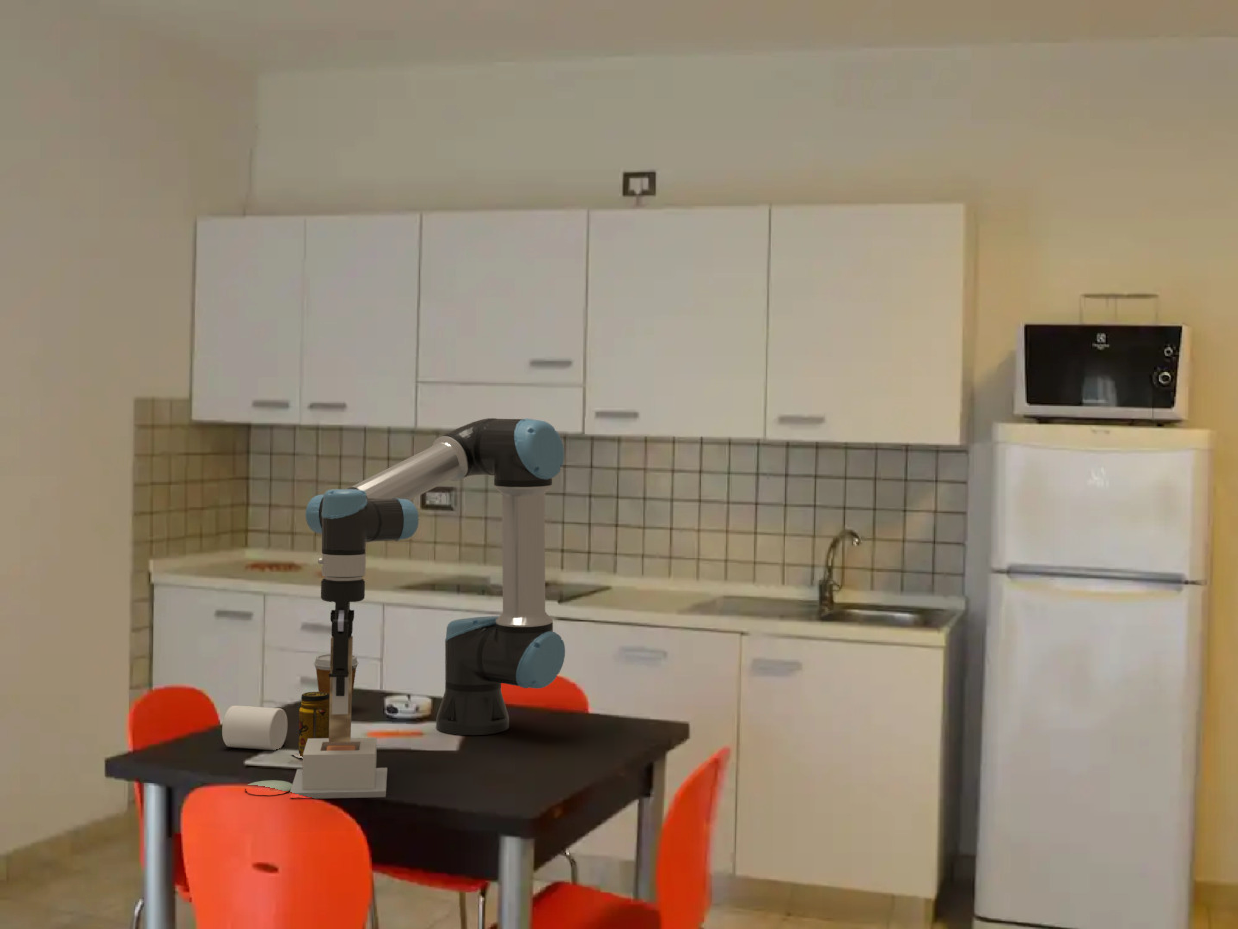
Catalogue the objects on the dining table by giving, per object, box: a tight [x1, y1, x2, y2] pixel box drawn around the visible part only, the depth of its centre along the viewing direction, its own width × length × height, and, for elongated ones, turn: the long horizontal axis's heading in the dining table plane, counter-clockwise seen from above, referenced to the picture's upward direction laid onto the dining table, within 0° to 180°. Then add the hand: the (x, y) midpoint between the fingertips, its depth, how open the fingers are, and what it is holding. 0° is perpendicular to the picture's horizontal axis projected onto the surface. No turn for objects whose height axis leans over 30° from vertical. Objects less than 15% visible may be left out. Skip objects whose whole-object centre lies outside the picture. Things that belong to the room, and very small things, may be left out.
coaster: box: [247, 779, 293, 791], centre depth 243 cm, size 8×8×1 cm
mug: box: [221, 705, 288, 751], centre depth 275 cm, size 12×10×8 cm
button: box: [326, 745, 355, 751], centre depth 247 cm, size 5×5×4 cm
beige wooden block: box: [329, 635, 354, 742], centre depth 246 cm, size 4×4×18 cm
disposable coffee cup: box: [313, 653, 359, 706], centre depth 306 cm, size 10×10×12 cm
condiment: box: [298, 691, 330, 757], centre depth 268 cm, size 7×8×12 cm
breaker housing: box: [289, 737, 388, 799], centre depth 247 cm, size 16×16×7 cm
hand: (340, 711), depth 246 cm, fingers closed on beige wooden block, 4 cm apart
